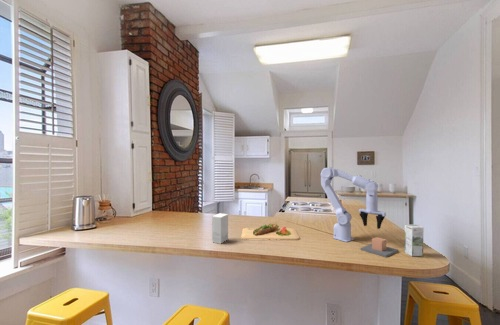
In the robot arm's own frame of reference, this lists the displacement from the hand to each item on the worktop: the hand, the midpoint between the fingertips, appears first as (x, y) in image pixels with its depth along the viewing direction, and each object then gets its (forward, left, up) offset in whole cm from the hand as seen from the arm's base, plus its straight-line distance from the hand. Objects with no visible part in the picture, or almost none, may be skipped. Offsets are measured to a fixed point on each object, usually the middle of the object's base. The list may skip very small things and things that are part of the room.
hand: (371, 227), depth 141 cm
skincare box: (-55, -66, -10) cm, 86 cm away
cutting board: (-49, -34, -10) cm, 60 cm away
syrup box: (+21, 0, -10) cm, 23 cm away
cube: (+8, -8, -8) cm, 14 cm away
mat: (+8, -8, -9) cm, 15 cm away
